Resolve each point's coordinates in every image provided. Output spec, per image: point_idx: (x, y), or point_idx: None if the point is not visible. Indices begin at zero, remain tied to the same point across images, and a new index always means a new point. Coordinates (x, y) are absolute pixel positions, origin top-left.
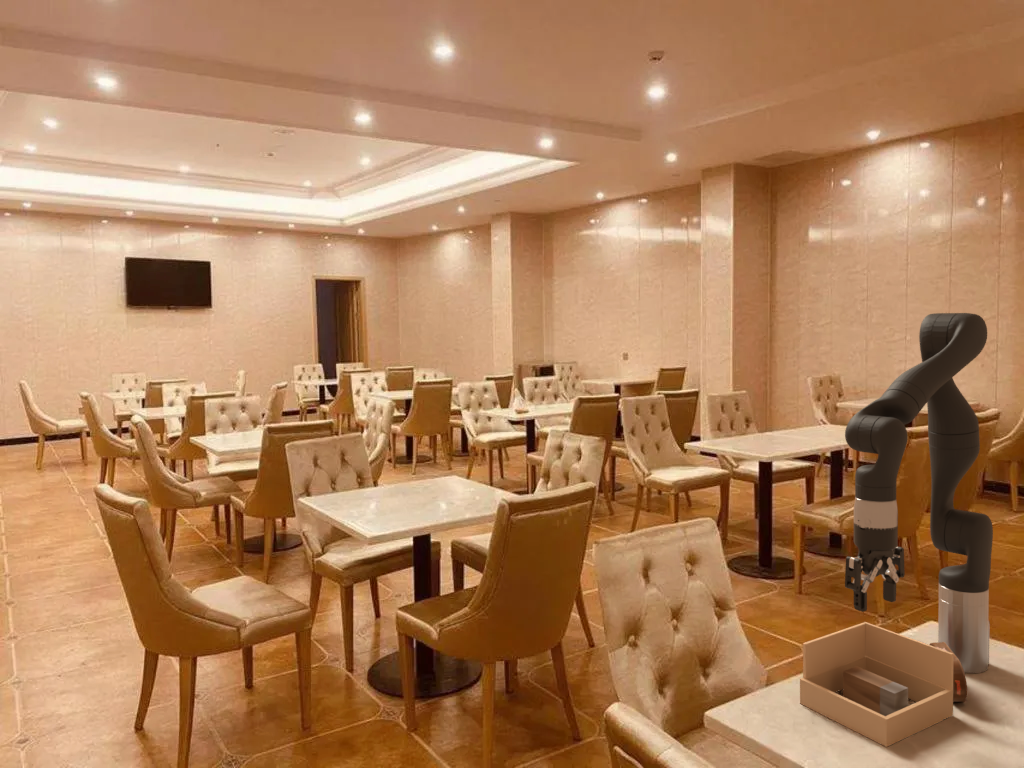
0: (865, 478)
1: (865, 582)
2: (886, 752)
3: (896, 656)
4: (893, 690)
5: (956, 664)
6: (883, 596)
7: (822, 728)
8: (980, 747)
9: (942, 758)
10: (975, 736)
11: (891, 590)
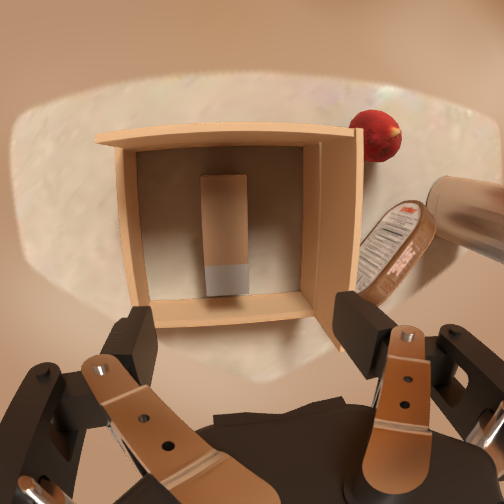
0: None
1: (122, 450)
2: None
3: (331, 217)
4: (215, 287)
5: (374, 301)
6: (341, 295)
7: (100, 225)
8: (255, 359)
9: (189, 354)
10: (276, 342)
11: (353, 350)
